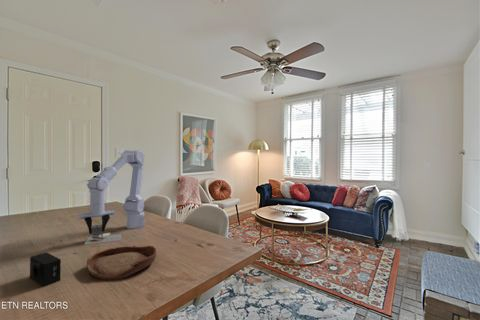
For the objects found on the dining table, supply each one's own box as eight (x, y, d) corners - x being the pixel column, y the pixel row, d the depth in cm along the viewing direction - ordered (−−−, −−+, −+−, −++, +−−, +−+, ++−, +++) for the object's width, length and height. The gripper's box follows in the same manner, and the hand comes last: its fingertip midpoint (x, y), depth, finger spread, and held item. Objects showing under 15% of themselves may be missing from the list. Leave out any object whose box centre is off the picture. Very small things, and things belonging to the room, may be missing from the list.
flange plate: (121, 237, 111) (121, 233, 111) (120, 242, 104) (120, 238, 104) (88, 240, 105) (88, 237, 105) (84, 246, 98) (84, 242, 98)
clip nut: (101, 235, 106) (101, 224, 106) (102, 237, 102) (102, 226, 102) (91, 236, 104) (91, 225, 104) (91, 239, 100) (91, 228, 100)
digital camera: (24, 279, 71) (25, 257, 71) (45, 272, 76) (46, 251, 76) (38, 289, 66) (38, 265, 66) (60, 280, 71) (60, 258, 71)
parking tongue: (110, 234, 114) (110, 232, 114) (109, 237, 110) (109, 235, 110) (103, 235, 113) (103, 233, 113) (102, 238, 108) (102, 236, 108)
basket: (75, 286, 68) (75, 270, 68) (97, 258, 88) (97, 245, 88) (153, 276, 75) (153, 261, 75) (157, 252, 94) (158, 240, 94)
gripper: (112, 200, 111) (112, 227, 111) (77, 203, 101) (76, 233, 101) (116, 202, 106) (115, 230, 106) (79, 206, 96) (78, 237, 96)
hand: (96, 232), depth 103 cm, fingers closed on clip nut, 4 cm apart
